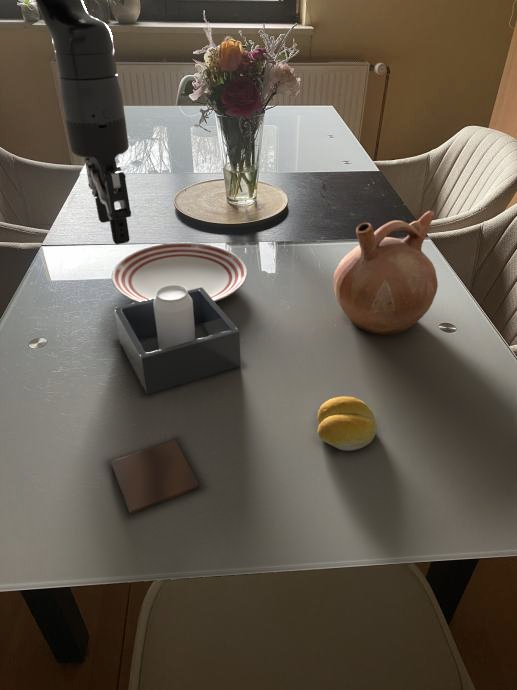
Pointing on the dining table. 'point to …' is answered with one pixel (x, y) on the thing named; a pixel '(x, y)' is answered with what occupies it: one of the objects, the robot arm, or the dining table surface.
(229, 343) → the grey open box
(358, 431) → the bread roll
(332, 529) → the dining table surface
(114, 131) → the robot arm
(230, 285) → the dinner plate
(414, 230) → the jug
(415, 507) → the dining table surface
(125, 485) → the coaster
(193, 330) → the beverage can
